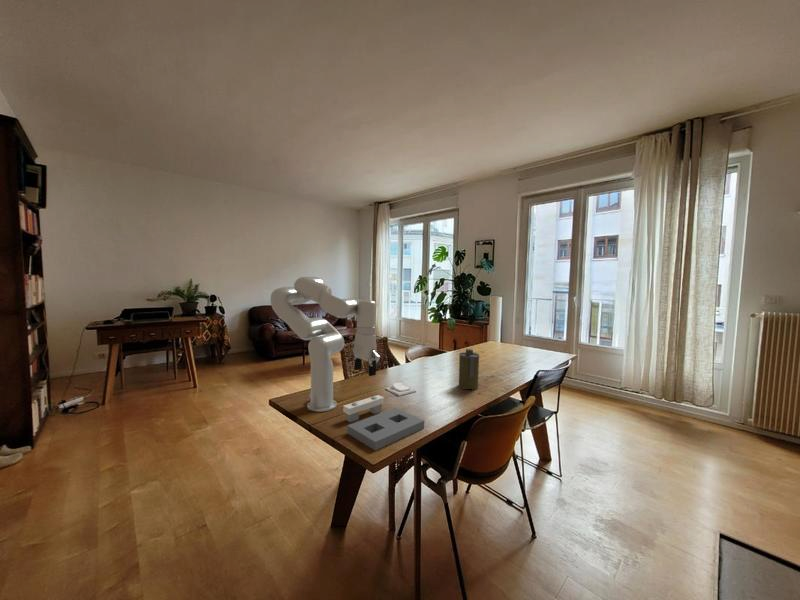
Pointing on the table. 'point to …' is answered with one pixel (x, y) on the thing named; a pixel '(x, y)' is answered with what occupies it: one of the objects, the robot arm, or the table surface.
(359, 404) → the off-white connector bar
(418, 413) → the table surface
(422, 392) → the table surface
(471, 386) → the canister
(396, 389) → the light switch
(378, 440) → the mounting board
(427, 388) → the table surface
